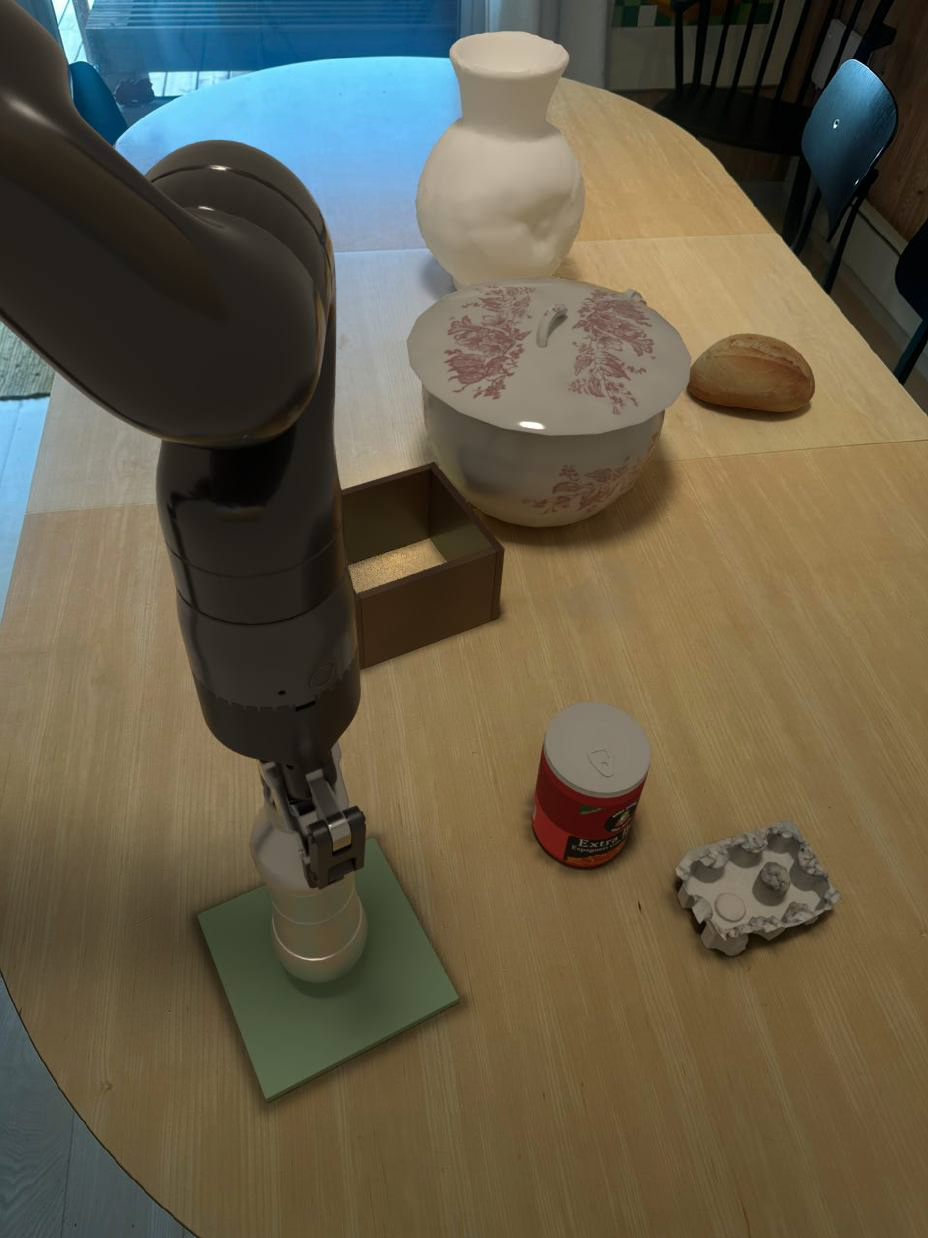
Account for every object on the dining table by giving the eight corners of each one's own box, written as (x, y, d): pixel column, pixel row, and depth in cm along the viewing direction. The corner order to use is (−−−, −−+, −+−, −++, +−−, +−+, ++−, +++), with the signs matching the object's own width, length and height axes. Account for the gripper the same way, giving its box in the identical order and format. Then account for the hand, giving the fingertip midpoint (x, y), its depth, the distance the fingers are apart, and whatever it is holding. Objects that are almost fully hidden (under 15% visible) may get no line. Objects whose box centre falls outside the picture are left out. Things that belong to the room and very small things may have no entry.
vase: (389, 287, 132) (384, 42, 110) (500, 240, 143) (517, 9, 121) (482, 345, 124) (498, 92, 101) (594, 291, 134) (630, 50, 112)
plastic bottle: (363, 895, 70) (350, 727, 55) (374, 987, 65) (362, 831, 50) (273, 908, 69) (234, 741, 54) (277, 1002, 64) (236, 848, 50)
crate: (356, 671, 86) (351, 602, 80) (299, 574, 94) (291, 504, 88) (498, 618, 92) (505, 548, 85) (432, 530, 99) (434, 461, 93)
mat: (266, 1103, 62) (265, 1099, 62) (198, 919, 70) (196, 914, 70) (459, 1002, 67) (459, 998, 66) (374, 841, 75) (374, 836, 75)
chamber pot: (432, 585, 94) (436, 407, 79) (388, 418, 112) (384, 247, 97) (702, 552, 99) (755, 377, 84) (618, 397, 117) (649, 230, 102)
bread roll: (811, 432, 113) (833, 374, 108) (683, 416, 115) (697, 357, 109) (805, 386, 120) (825, 329, 114) (684, 371, 121) (698, 313, 115)
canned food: (569, 888, 73) (589, 811, 65) (510, 808, 78) (521, 727, 69) (647, 841, 76) (676, 762, 68) (586, 767, 80) (606, 685, 72)
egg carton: (709, 967, 69) (723, 943, 66) (662, 876, 74) (672, 849, 71) (836, 923, 72) (854, 898, 69) (782, 837, 77) (797, 810, 74)
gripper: (143, 560, 46) (200, 761, 58) (247, 792, 38) (287, 969, 50) (292, 514, 49) (316, 716, 61) (420, 722, 40) (418, 907, 53)
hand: (303, 829), depth 55 cm, fingers closed on plastic bottle, 6 cm apart
